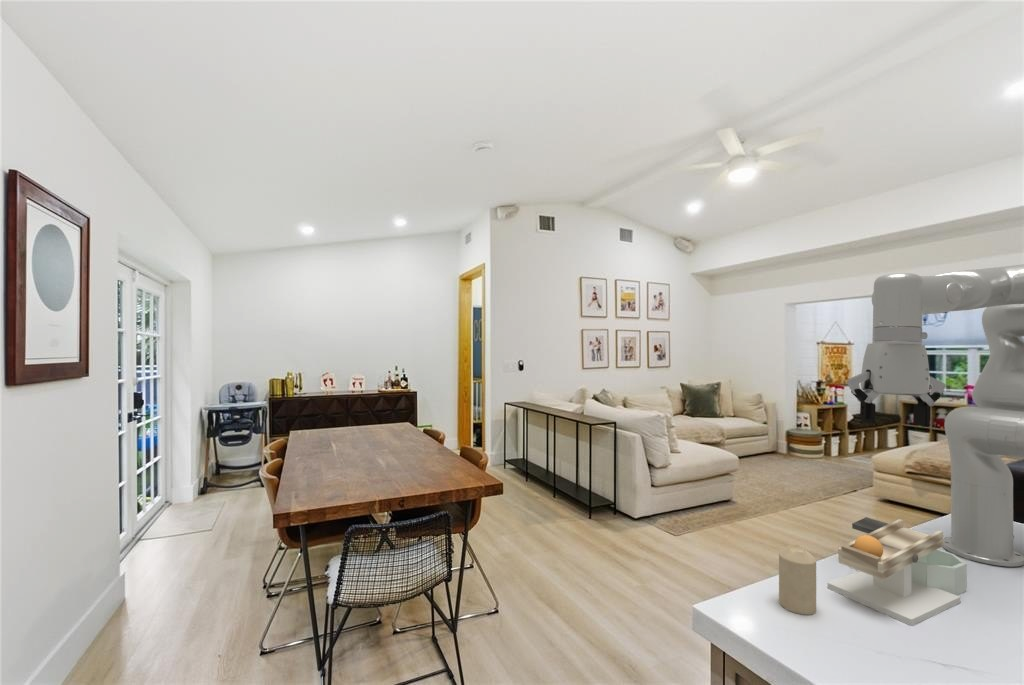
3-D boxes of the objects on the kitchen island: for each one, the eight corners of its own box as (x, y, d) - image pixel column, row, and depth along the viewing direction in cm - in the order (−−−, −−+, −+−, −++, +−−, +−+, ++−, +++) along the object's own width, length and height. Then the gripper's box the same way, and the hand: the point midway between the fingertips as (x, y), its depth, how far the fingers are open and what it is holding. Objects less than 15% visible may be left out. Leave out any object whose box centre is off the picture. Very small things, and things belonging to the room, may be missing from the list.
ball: (863, 549, 84) (861, 528, 84) (889, 558, 81) (886, 536, 80) (851, 558, 83) (848, 536, 82) (876, 568, 79) (873, 545, 79)
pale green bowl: (909, 564, 96) (909, 539, 96) (974, 587, 87) (974, 560, 87) (881, 574, 92) (881, 549, 92) (947, 600, 83) (947, 571, 83)
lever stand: (876, 570, 94) (876, 536, 94) (960, 602, 82) (960, 563, 82) (827, 587, 87) (827, 551, 87) (911, 625, 75) (911, 583, 75)
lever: (868, 522, 97) (867, 507, 97) (945, 546, 86) (944, 528, 85) (807, 550, 88) (806, 533, 88) (884, 580, 77) (882, 561, 77)
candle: (822, 617, 78) (822, 556, 78) (785, 613, 79) (785, 553, 79) (808, 599, 83) (808, 542, 83) (774, 596, 84) (774, 540, 84)
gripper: (929, 339, 95) (927, 424, 95) (838, 336, 97) (836, 419, 97) (960, 338, 88) (958, 430, 87) (861, 334, 89) (859, 424, 89)
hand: (894, 424), depth 92 cm, fingers open, 9 cm apart
